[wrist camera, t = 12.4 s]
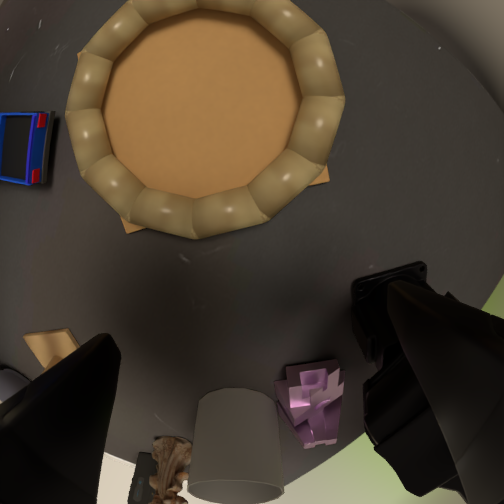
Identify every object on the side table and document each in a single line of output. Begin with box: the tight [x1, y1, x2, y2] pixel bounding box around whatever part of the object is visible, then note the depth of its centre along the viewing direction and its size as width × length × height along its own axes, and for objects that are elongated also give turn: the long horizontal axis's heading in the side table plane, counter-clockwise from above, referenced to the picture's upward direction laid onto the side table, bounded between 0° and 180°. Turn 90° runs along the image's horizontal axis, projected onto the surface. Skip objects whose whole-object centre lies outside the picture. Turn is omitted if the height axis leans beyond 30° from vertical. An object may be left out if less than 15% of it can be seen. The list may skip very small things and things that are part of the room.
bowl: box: [0, 369, 30, 404], centre depth 24 cm, size 16×16×10 cm
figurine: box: [149, 436, 193, 504], centre depth 24 cm, size 7×6×15 cm
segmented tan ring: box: [65, 0, 345, 239], centre depth 14 cm, size 17×17×2 cm
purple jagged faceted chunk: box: [274, 359, 345, 449], centre depth 23 cm, size 8×7×6 cm
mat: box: [77, 8, 330, 234], centre depth 16 cm, size 14×14×1 cm
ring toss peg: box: [23, 328, 80, 374], centre depth 22 cm, size 8×8×7 cm
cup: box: [187, 388, 284, 504], centre depth 22 cm, size 8×8×10 cm
